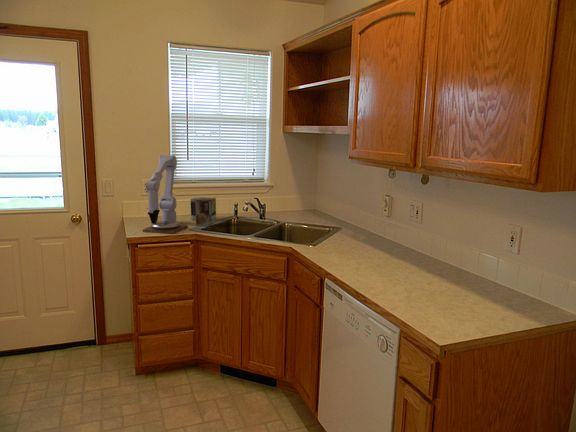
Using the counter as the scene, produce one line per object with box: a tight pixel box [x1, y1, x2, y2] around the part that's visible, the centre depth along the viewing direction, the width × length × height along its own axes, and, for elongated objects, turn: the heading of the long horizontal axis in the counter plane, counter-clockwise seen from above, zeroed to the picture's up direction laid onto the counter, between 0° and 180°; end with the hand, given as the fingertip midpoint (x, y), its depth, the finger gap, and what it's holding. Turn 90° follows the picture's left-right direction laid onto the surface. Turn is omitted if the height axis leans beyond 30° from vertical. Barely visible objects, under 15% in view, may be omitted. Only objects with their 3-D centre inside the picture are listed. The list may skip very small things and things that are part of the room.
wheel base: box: [142, 224, 188, 235], centre depth 277 cm, size 19×20×2 cm
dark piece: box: [190, 196, 217, 221], centre depth 309 cm, size 15×10×15 cm, turn 82°
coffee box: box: [195, 200, 213, 227], centre depth 290 cm, size 9×6×16 cm
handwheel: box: [150, 220, 181, 229], centre depth 276 cm, size 17×17×6 cm
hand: (154, 222), depth 276 cm, fingers open, 4 cm apart
